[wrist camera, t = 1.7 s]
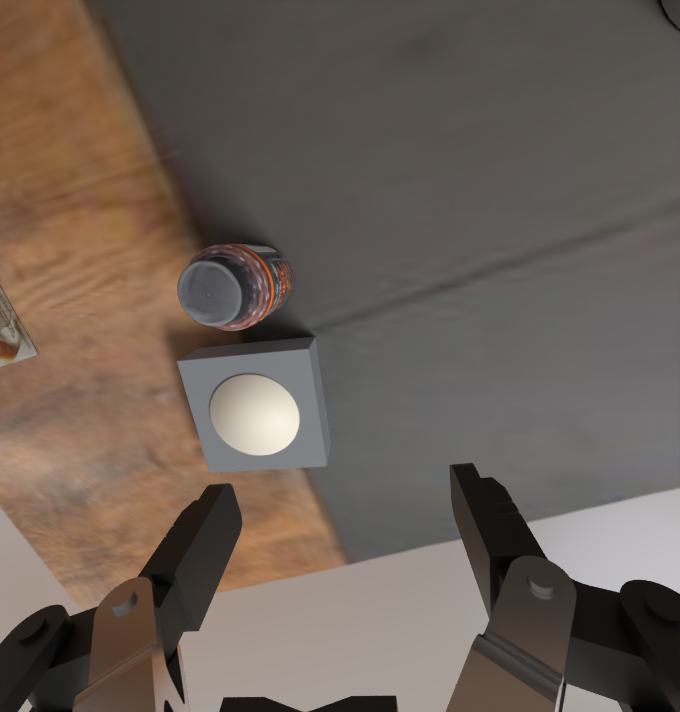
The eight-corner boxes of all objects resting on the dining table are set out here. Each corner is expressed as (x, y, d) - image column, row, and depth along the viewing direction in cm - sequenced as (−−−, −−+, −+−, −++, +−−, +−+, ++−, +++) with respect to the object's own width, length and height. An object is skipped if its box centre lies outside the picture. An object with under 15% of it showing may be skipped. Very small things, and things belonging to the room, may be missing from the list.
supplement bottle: (296, 310, 31) (260, 345, 20) (235, 309, 31) (168, 343, 21) (294, 244, 29) (253, 244, 18) (228, 243, 29) (151, 243, 19)
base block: (198, 347, 33) (175, 361, 29) (315, 336, 32) (308, 349, 28) (225, 449, 37) (208, 474, 33) (330, 442, 35) (326, 467, 31)
